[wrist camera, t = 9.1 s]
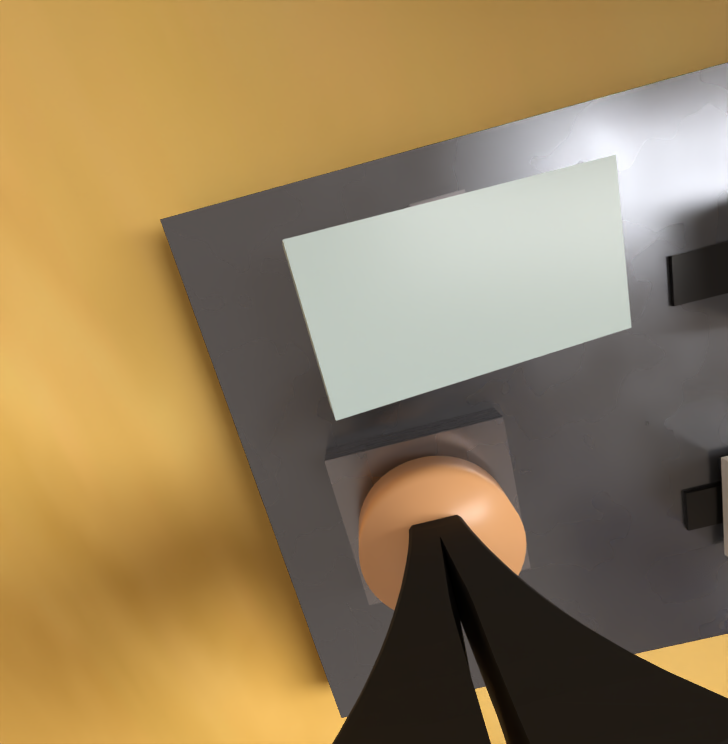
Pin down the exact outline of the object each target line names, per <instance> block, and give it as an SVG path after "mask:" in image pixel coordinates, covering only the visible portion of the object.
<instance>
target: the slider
mask: <svg viewBox="0 0 728 744" xmlns="http://www.w3.org/2000/svg"><path fill="white" fill-rule="evenodd" d="M721 472H722V500H723V527H724V554H725V555H726V556H727V557H728V456H725V457H721Z"/></svg>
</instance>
